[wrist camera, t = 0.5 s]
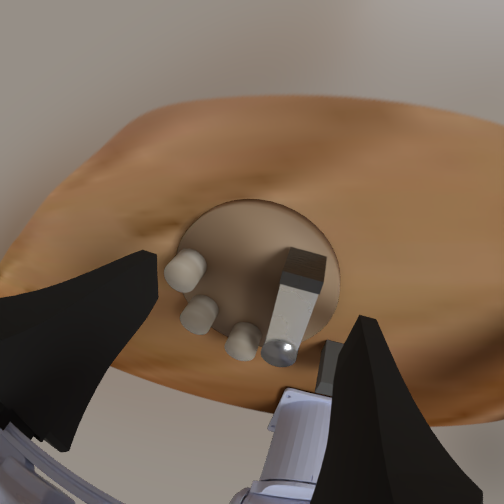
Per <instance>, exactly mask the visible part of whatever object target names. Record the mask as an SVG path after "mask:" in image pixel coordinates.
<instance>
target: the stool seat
mask: <svg viewBox="0 0 504 504" xmlns="http://www.w3.org/2000/svg"><path fill="white" fill-rule="evenodd" d="M290 247H294V248H297V249H301V250H305V251H309V252H312V253H316V254H320V255H323V256H327V262H326V270H325V278H324V283H323V286H322V289H321V292H320V295H319V294H318V297H317V300H316V303H315V306H314V308H313V311H312V314H311V317H310V319H309V322H308V325H307V327H306V330H305V333H304V335H303V338H302V341H305V340H307V339H309V338H311V337H312V336H314V335H315V334H317V333H318V332H319V331H321V330H322V329H323V328H324V327H325V326H326V325H327V323H328V322H329V321H330V319H331V318H332V316H333V314H334V312H335V310H336V307H337V304H338V300H339V293H340V269H339V264H338V260H337V257H336V255H335V252H334V250H333V248H332V246H331V244H330V242H329V241H328V240H327V238H326V237H325V235H324V234H323V233H322V232H321V231H320V230H319V229H318V228H317V227H316V225H315V224H313V223H312V222H311V221H310V220H308V219H307V218H306V217H304V216H303V215H301V214H300V213H298V212H296V211H295V210H292V209H290V208H288V207H286V206H284V205H281V204H277V203H274V202H271V201H265V200H259V199H242V200H234V201H230V202H226V203H223V204H221V205H218V206H216V207H214V208H212V209H210V210H209V211H207V212H206V213H205V214H203V215H202V216H201V217H200V218H199V219H198V220H197V221H196V222H195V223H194V224H193V225H192V226H191V227H190V228H189V229H188V230H187V231H186V233H185V234H184V236H183V238H182V239H181V242H180V244H179V247H178V250H177V255H176V256H175V257H174V258H173V259H172V260H171V261H170V263H169V264H168V265H167V266H166V267H165V269H164V276H165V279H166V281H167V283H168V284H169V285H170V286H171V287H172V288H173V289H175V290H177V291H179V292H182V293H183V295H184V297H185V299H186V300H187V302H188V305H187V306H186V307H185V309H184V310H183V312H182V313H181V315H180V321H181V323H182V325H183V326H184V327H185V328H186V329H187V330H188V331H190V332H192V333H194V334H198V335H203V334H206V333H207V332H208V331H209V329H210V328H211V327H212V328H214V329H215V330H216V331H218V332H220V333H222V334H223V335H225V336H227V337H228V339H227V341H226V343H225V350H226V352H227V353H228V354H229V355H230V356H231V357H233V358H235V359H237V360H240V361H249V360H252V359H253V358H254V357H255V354H256V351H257V349H258V346H260V347H263V344H264V341H265V338H266V335H267V332H268V330H269V326H270V322H271V319H272V315H273V311H274V307H275V303H276V299H277V295H278V291H279V287H280V284H279V283H280V279H281V275H282V271H283V268H284V265H285V262H286V259H287V256H288V253H289V250H290ZM302 341H301V342H302Z"/></svg>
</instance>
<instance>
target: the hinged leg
mask: <svg viewBox="0 0 504 504" xmlns="http://www.w3.org/2000/svg"><path fill="white" fill-rule="evenodd" d="M326 262H327V256H323V255H320V254H316V253H312V252H309V251H305V250H301V249H297V248H294V247H290V250H289V253H288V256H287V259H286V262H285V265H284V268H283V271H282V275H281V279H280V283H279V284H280V287H279V291H278V295H277V299H276V303H275V307H274V311H273V315H272V319H271V322H270V326H269V330H268V332H267V335H266V338H265V341H264V344H263V347H262V350H261V357H262V358H263V359H264V360H265V361H266V362H267V363H269V364H271V365H273V366H277V367H287V366H290V365H292V364H294V362H295V361H296V358H297V353H298V349H299V346H300V343H301V341H302V338H303V335H304V333H305V330H306V327H307V325H308V322H309V319H310V317H311V314H312V311H313V308H314V306H315V303H316V300H317V297H318V294H319V295H320V292H321V289H322V286H323V283H324V278H325V270H326Z"/></svg>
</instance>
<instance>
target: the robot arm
mask: <svg viewBox="0 0 504 504" xmlns="http://www.w3.org/2000/svg"><path fill="white" fill-rule="evenodd" d="M157 300H158V278H157V254H154V253H151V252H148V251H145V250H141V251H138V252H135V253H133V254H130V255H128V256H125V257H123V258H121V259H118V260H116V261H114V262H111V263H109V264H107V265H104V266H102V267H100V268H98V269H95V270H93V271H91V272H88V273H85V274H83V275H80V276H78V277H75V278H73V279H70V280H68V281H65V282H62V283H59V284H56V285H53V286H50V287H47V288H44V289H40V290H37V291H32V292H28V293H24V294H19V295H15V296H9V297H3V298H0V504H75V502H74V500H72V499H71V498H70V497H69V496H68V495H66V494H65V493H64V492H62V491H61V490H60V489H58V488H57V487H56V486H54V485H53V484H51V483H50V482H48V481H47V480H45V479H44V478H43V477H41V476H40V475H38V474H37V473H35V471H34V465H35V466H36V467H37V468H39V469H40V470H41V471H42V472H44V473H45V474H46V475H47V476H49V477H50V478H51V479H53V480H54V481H55V482H57V483H58V484H59V485H60V486H62V487H63V488H65V489H66V490H67V491H69V492H70V493H72V494H74V495H75V496H76V497H78V498H79V499H81V500H82V501H84V502H85V503H87V504H124V503H122V502H121V501H119V500H117V499H115V498H113V497H112V496H110V495H108V494H106V493H104V492H103V491H101V490H99V489H98V488H96V487H95V486H93V485H91V484H90V483H88V482H87V481H85V480H83V479H82V478H80V477H79V476H77V475H76V474H74V473H73V472H71V471H70V470H69V469H67V468H66V467H64V466H63V465H61V464H60V463H59V462H57V461H56V460H54V458H52V457H51V456H50V455H48V454H47V453H46V452H44V451H43V450H42V449H41V448H40V447H38V446H37V445H36V444H35V443H33V442H32V441H31V439H32V437H33V436H34V437H35V438H36V439H37V440H39V441H40V442H43V440H45V441H46V442H48V443H49V444H50V445H51V446H53V447H54V448H56V449H57V450H58V451H59V452H67V451H69V450H70V447H71V444H72V441H73V438H74V436H75V433H76V431H77V428H78V425H79V423H80V421H81V419H82V416H83V414H84V412H85V410H86V408H87V406H88V403H89V402H90V400H91V398H92V396H93V394H94V392H95V390H96V388H97V386H98V385H99V383H100V381H101V380H102V378H103V376H104V374H105V373H106V371H107V369H108V368H109V366H110V365H111V364H112V362H113V361H114V359H115V358H116V357H117V356H118V354H119V353H120V352H121V350H122V349H123V348H124V347H125V345H126V344H127V343H128V341H129V340H130V339H131V338H132V336H133V335H134V334H135V333H136V331H137V330H138V329H139V327H140V326H141V325H142V324H143V322H144V321H145V320H146V318H147V317H148V315H149V313H150V312H151V310H152V308H153V307H154V305H155V303H156V301H157ZM268 430H269V431H272V432H274V435H273V438H272V441H271V445H270V448H269V451H268V455H267V458H266V461H265V464H264V467H263V471H262V474H261V477H260V480H259V481H253V483H252V486H251V488H244V489H242V490H241V491H240V492H238V493H237V494H235V496H234V497H233V498H232V500H231V501H230V503H229V504H483V492H482V490H481V489H480V488H479V487H478V486H477V485H476V484H475V483H474V482H473V481H472V480H471V479H470V478H469V477H468V476H467V475H466V474H465V473H464V472H463V471H462V470H461V468H460V467H459V466H458V465H457V463H456V462H455V461H454V460H453V459H452V458H451V456H450V455H449V454H448V452H447V451H446V450H445V448H444V447H443V446H442V444H441V443H440V441H439V440H438V439H437V437H436V436H435V434H434V433H433V432H432V430H431V428H430V427H429V425H428V424H427V422H426V420H425V419H424V417H423V415H422V414H421V412H420V410H419V409H418V407H417V405H416V403H415V402H414V400H413V398H412V396H411V394H410V392H409V390H408V388H407V386H406V384H405V382H404V380H403V378H402V376H401V374H400V372H399V370H398V368H397V365H396V363H395V361H394V359H393V357H392V354H391V352H390V350H389V347H388V345H387V343H386V341H385V338H384V336H383V334H382V331H381V329H380V327H379V325H378V322H377V320H376V319H373V318H369V317H366V316H362V315H359V317H358V319H357V321H356V323H355V325H354V326H353V328H352V330H351V332H350V334H349V336H348V338H347V340H346V342H345V343H344V345H343V347H342V349H341V351H340V353H339V354H338V359H337V364H336V369H335V375H334V380H333V391H332V398H330V397H326V396H321V395H317V394H313V393H309V392H304V391H300V390H296V389H293V388H286V389H285V391H284V393H283V395H282V397H281V399H280V402H279V404H278V406H277V408H276V410H275V413H274V415H273V417H272V419H271V421H270V423H269V425H268Z"/></svg>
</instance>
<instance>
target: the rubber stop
mask: <svg viewBox="0 0 504 504" xmlns="http://www.w3.org/2000/svg"><path fill="white" fill-rule="evenodd" d="M343 345H344V344H342V343H338V342H334V341H330V340H327V341H326V343H325V345H324V347H323V349H322V351H321V358H320V364H319V371H318V377H317V382H316V388H315V393H320V394H324V395H329V396H332V391H333V380H334V375H335V369H336V364H337V359H338V354H339V353H340V351H341V349H342V347H343Z"/></svg>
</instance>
